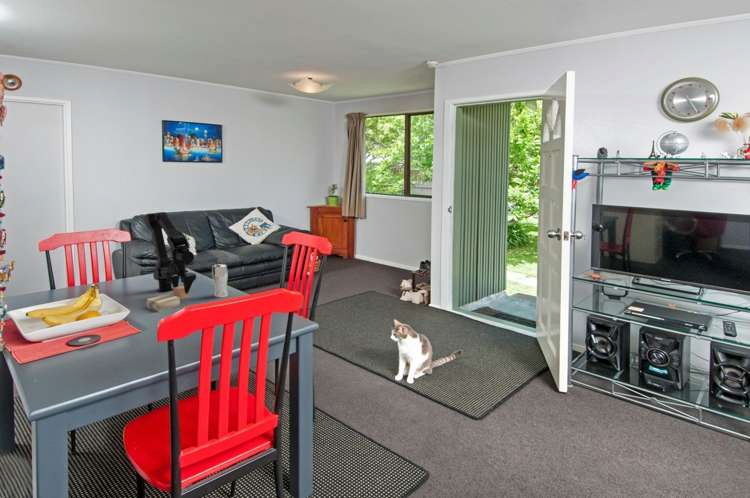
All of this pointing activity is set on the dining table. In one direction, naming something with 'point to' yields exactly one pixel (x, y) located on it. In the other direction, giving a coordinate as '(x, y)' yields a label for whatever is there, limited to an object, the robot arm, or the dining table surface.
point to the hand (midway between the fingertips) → (181, 292)
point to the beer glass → (220, 279)
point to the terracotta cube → (180, 292)
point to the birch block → (163, 302)
